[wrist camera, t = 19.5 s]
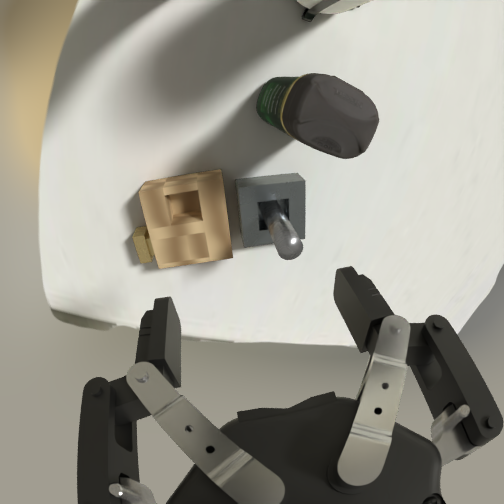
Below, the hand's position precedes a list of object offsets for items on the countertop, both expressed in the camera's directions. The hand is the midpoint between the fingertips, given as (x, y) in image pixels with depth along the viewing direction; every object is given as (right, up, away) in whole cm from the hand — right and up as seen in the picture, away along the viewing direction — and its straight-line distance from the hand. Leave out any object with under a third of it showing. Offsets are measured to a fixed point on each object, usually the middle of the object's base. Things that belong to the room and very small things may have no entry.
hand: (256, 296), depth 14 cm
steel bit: (+3, +9, +32) cm, 34 cm away
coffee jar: (+5, +24, +25) cm, 35 cm away
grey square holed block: (+2, +10, +33) cm, 35 cm away
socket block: (-10, +8, +32) cm, 35 cm away
